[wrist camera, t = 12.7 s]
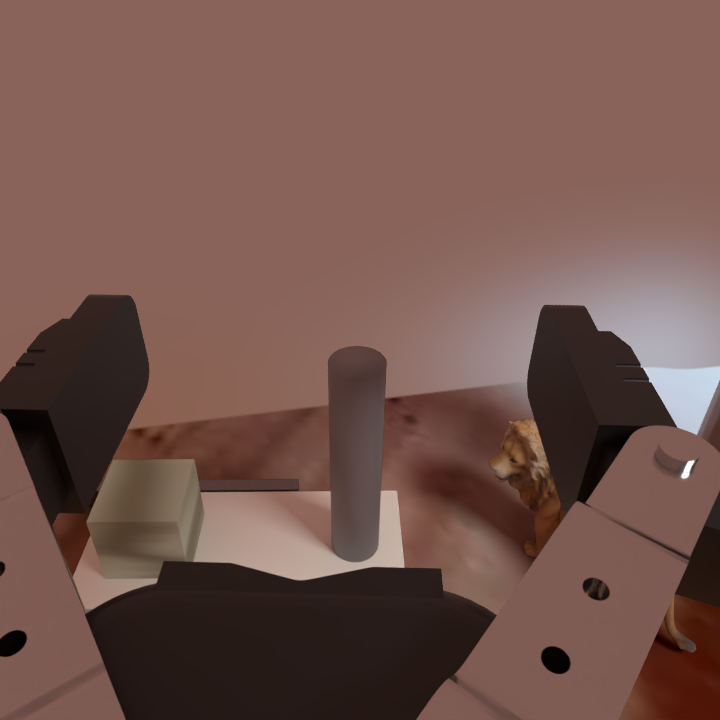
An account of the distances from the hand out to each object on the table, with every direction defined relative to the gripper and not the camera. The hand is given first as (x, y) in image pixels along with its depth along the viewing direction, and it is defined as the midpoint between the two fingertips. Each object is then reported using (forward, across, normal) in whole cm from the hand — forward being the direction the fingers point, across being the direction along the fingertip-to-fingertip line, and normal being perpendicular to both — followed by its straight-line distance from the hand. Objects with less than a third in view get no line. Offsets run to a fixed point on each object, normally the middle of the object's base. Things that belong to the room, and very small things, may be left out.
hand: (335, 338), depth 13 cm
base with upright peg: (+15, +7, +27) cm, 32 cm away
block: (+15, +12, +26) cm, 32 cm away
